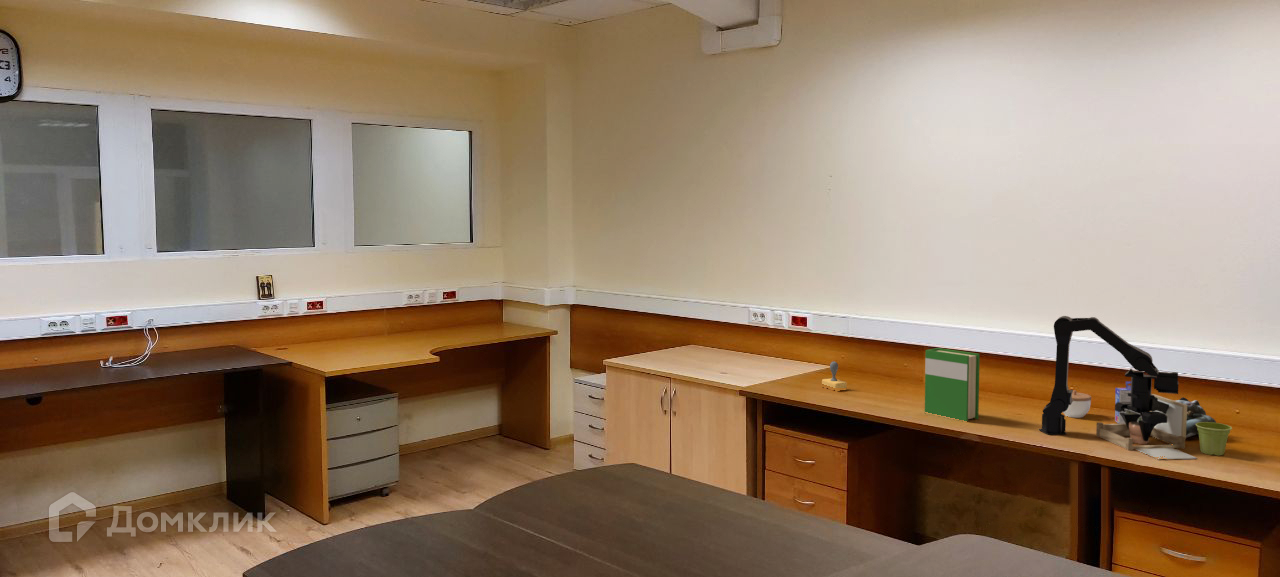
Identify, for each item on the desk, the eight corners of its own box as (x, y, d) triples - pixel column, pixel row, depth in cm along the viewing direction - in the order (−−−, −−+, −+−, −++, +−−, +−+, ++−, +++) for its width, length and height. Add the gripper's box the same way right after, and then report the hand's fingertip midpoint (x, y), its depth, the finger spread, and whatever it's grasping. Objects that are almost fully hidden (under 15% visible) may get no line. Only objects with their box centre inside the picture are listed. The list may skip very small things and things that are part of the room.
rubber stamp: (821, 387, 375) (821, 360, 374) (832, 386, 378) (832, 359, 377) (835, 391, 366) (836, 363, 365) (846, 390, 369) (847, 362, 368)
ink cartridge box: (1143, 421, 309) (1145, 381, 307) (1149, 425, 303) (1151, 384, 302) (1113, 420, 311) (1114, 380, 309) (1118, 424, 305) (1120, 383, 304)
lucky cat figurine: (1175, 440, 282) (1157, 400, 288) (1165, 446, 293) (1148, 406, 299) (1224, 429, 279) (1205, 388, 285) (1213, 435, 290) (1195, 395, 296)
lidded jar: (1089, 413, 321) (1090, 388, 320) (1091, 420, 311) (1092, 394, 310) (1057, 411, 325) (1058, 386, 324) (1058, 417, 316) (1058, 392, 315)
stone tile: (1158, 460, 262) (1158, 458, 262) (1135, 450, 273) (1135, 449, 273) (1196, 459, 262) (1196, 457, 262) (1172, 449, 273) (1172, 447, 273)
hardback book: (978, 419, 316) (979, 353, 314) (966, 422, 312) (967, 356, 309) (936, 410, 330) (937, 348, 328) (924, 413, 326) (925, 350, 324)
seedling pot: (1135, 444, 279) (1136, 420, 278) (1124, 439, 285) (1125, 415, 284) (1154, 444, 279) (1155, 419, 278) (1142, 439, 285) (1143, 415, 284)
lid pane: (1182, 438, 274) (1184, 405, 273) (1149, 425, 290) (1150, 394, 289) (1185, 438, 274) (1187, 405, 273) (1152, 425, 290) (1153, 394, 289)
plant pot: (1238, 455, 266) (1239, 427, 265) (1216, 458, 262) (1218, 430, 261) (1208, 447, 274) (1209, 420, 274) (1187, 451, 271) (1188, 423, 270)
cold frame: (1128, 450, 273) (1128, 435, 272) (1096, 435, 290) (1096, 422, 290) (1184, 448, 274) (1185, 434, 273) (1149, 434, 291) (1150, 420, 291)
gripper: (1184, 396, 272) (1182, 445, 273) (1146, 384, 290) (1145, 430, 292) (1150, 397, 271) (1148, 446, 272) (1114, 385, 290) (1113, 431, 291)
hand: (1139, 438), depth 282 cm, fingers closed on seedling pot, 6 cm apart
